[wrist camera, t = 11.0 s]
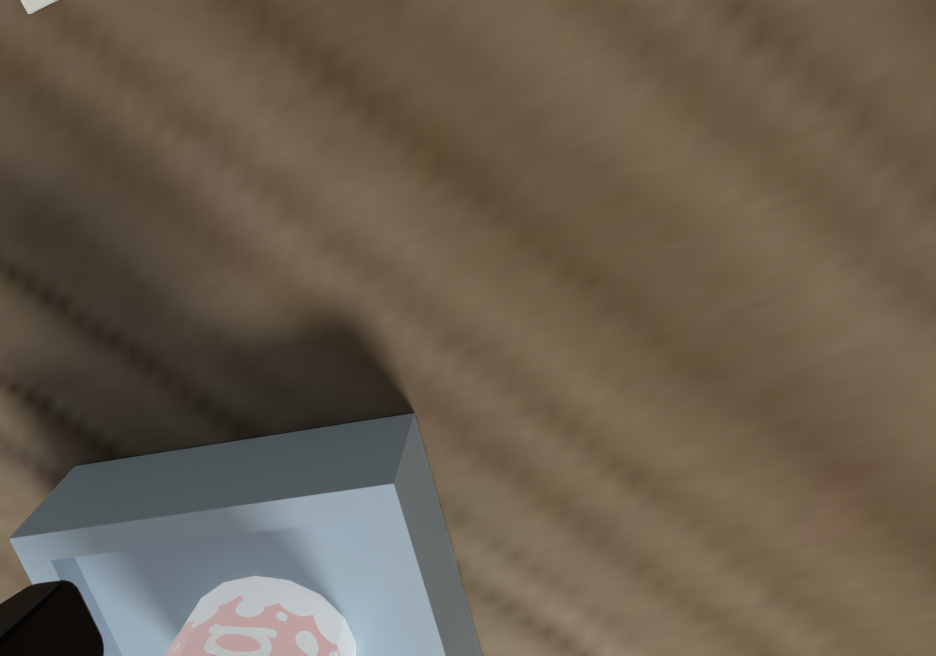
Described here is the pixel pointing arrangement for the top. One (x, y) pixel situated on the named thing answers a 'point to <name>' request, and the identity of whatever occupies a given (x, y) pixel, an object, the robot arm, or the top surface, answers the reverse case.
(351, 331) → the top surface
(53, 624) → the robot arm
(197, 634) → the beverage cup
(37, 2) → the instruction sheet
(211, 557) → the rectangular tray
